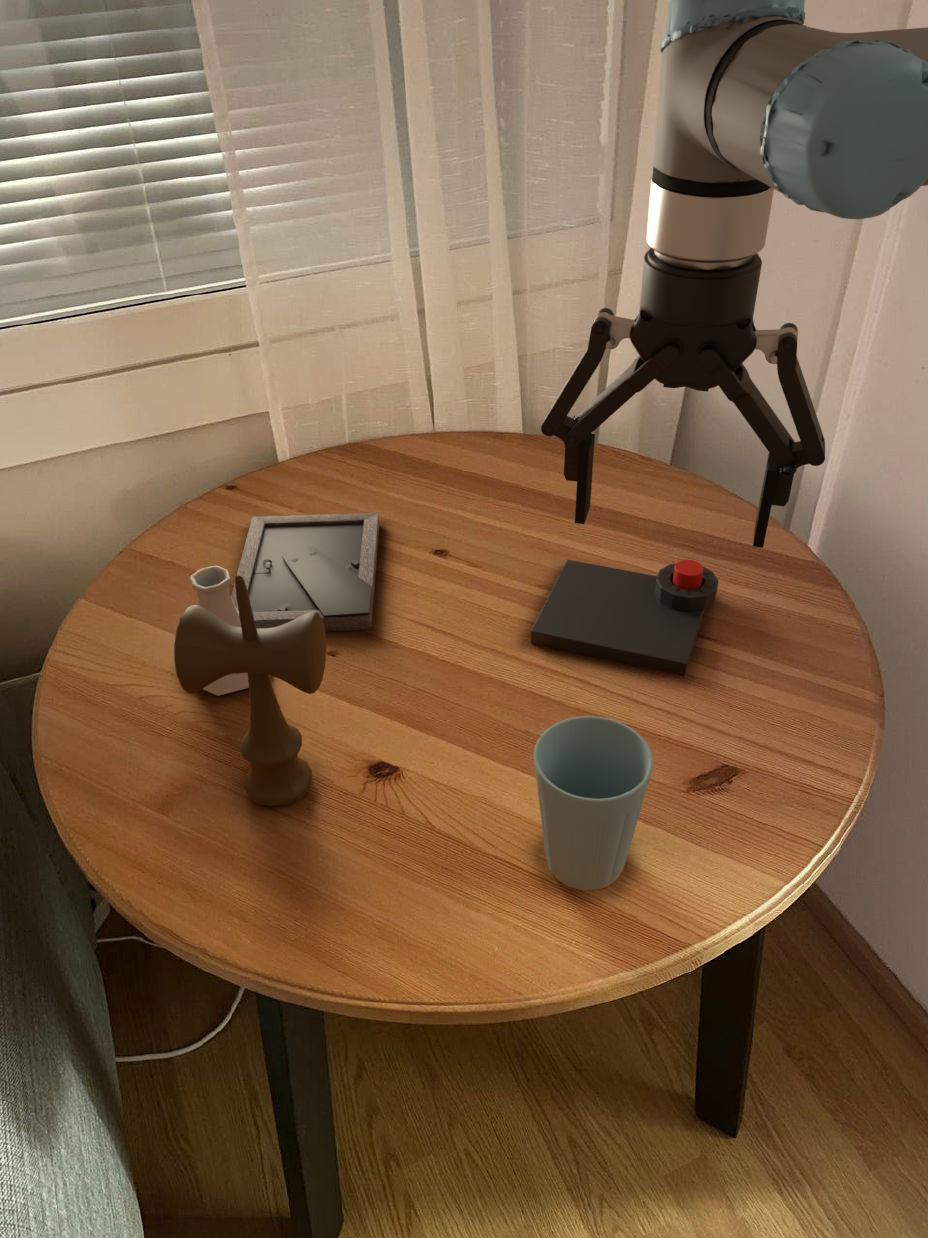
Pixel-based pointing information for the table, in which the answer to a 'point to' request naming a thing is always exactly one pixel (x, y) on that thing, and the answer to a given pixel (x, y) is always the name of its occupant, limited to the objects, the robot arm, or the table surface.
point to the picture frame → (311, 569)
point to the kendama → (257, 686)
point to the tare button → (688, 574)
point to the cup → (590, 797)
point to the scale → (624, 615)
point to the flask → (219, 603)
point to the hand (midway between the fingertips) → (668, 526)
